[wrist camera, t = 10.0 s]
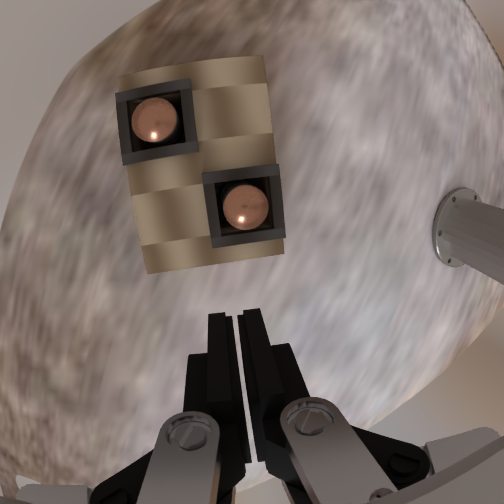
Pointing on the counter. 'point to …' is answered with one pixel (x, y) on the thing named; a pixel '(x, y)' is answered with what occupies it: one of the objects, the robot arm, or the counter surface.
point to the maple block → (201, 162)
